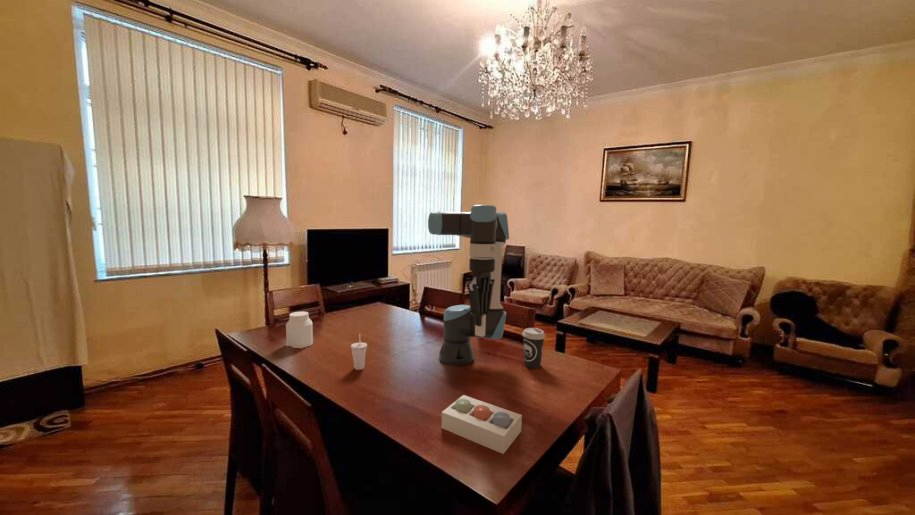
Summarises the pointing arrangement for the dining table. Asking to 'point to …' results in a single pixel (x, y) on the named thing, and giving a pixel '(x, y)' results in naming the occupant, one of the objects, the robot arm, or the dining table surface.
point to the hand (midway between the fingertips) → (480, 335)
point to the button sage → (463, 405)
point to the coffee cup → (533, 346)
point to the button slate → (501, 420)
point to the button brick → (481, 412)
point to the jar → (299, 330)
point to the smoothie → (359, 354)
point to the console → (482, 426)
